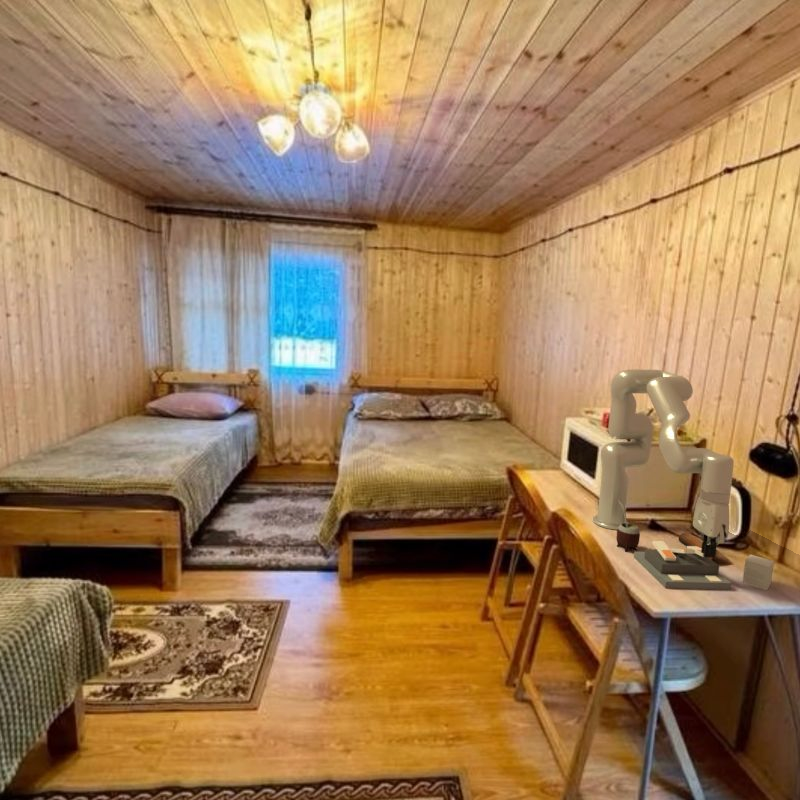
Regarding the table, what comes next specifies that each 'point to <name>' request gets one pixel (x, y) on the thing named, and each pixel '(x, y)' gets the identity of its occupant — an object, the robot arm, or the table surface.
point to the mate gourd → (627, 534)
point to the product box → (758, 572)
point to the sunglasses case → (696, 541)
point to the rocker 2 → (696, 551)
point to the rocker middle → (683, 551)
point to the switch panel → (686, 578)
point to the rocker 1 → (664, 550)
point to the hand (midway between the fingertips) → (708, 555)
